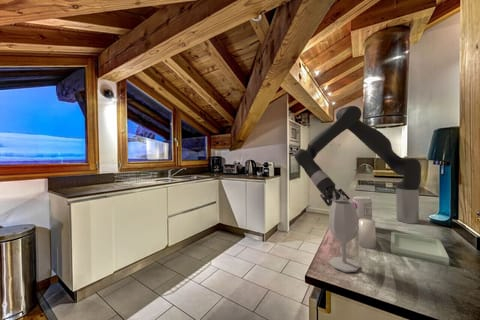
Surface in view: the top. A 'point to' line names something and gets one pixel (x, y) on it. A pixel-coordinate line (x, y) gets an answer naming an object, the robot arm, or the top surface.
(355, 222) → the wineglass
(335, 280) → the top surface
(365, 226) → the white domed cylinder
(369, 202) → the supplement can
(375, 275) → the top surface
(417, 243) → the tray
